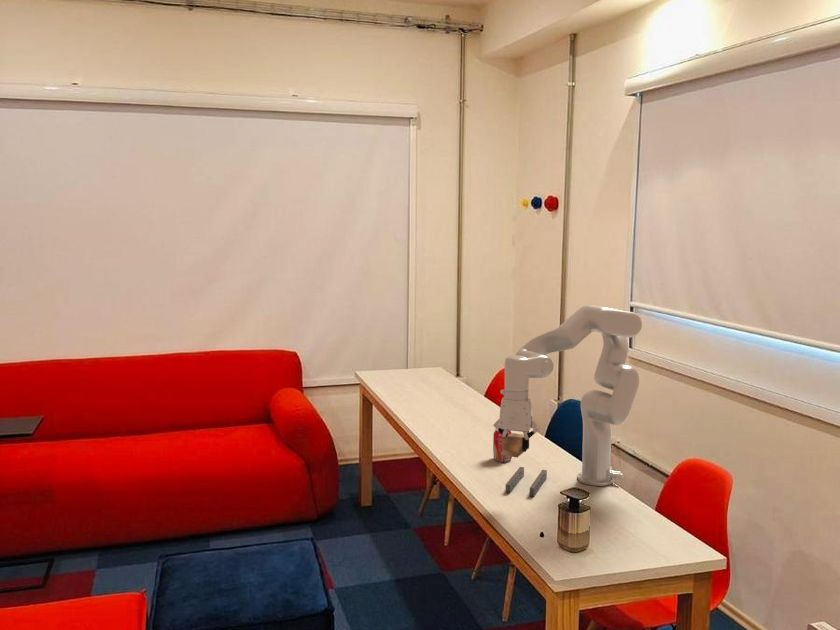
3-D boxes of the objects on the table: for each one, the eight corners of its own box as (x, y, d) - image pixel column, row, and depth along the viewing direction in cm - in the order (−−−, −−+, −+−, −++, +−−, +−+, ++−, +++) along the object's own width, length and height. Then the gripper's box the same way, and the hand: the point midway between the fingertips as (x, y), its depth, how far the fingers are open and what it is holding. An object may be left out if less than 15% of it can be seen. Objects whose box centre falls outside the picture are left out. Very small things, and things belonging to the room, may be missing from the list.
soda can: (500, 455, 287) (500, 425, 285) (515, 459, 282) (516, 428, 280) (489, 460, 281) (489, 429, 279) (505, 464, 277) (505, 433, 275)
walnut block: (526, 449, 242) (526, 435, 241) (517, 457, 235) (517, 442, 234) (512, 447, 244) (512, 432, 244) (502, 455, 237) (502, 439, 237)
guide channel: (546, 478, 262) (546, 470, 262) (533, 497, 246) (534, 488, 245) (519, 474, 266) (520, 466, 266) (505, 493, 250) (505, 484, 249)
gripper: (487, 395, 238) (487, 450, 241) (540, 400, 231) (539, 456, 234) (494, 389, 245) (494, 442, 247) (545, 394, 238) (545, 448, 241)
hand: (516, 448), depth 241 cm, fingers closed on walnut block, 5 cm apart
